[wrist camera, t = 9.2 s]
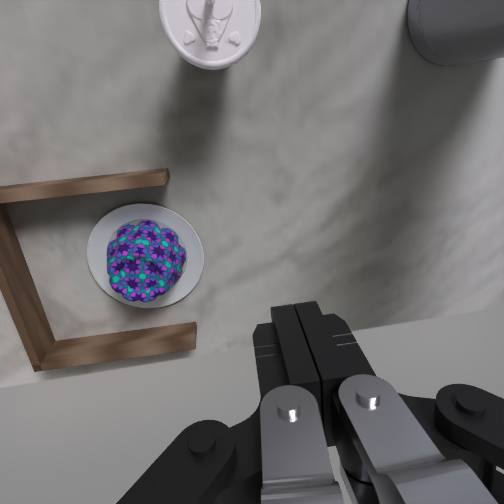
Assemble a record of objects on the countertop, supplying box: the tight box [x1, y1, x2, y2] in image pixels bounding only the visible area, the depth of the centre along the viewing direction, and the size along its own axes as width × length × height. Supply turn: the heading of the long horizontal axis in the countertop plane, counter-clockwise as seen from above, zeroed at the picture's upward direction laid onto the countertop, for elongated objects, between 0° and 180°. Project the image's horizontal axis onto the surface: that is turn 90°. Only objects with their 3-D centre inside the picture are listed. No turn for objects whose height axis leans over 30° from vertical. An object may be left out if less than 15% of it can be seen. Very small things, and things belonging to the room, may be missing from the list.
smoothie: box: [159, 0, 261, 70], centre depth 25 cm, size 6×6×14 cm
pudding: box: [87, 204, 204, 308], centre depth 36 cm, size 12×12×5 cm
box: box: [0, 168, 197, 372], centre depth 36 cm, size 17×19×4 cm
